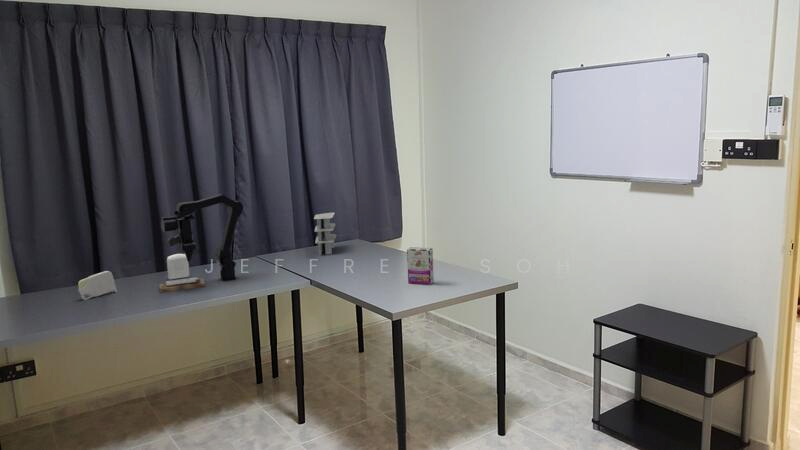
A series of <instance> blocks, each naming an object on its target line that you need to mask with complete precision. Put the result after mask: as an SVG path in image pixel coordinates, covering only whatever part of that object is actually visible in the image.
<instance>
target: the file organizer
mask: <svg viewBox="0 0 800 450" xmlns="http://www.w3.org/2000/svg"><path fill="white" fill-rule="evenodd" d="M335 213H336V212H325V213H319V214H318V213H316V214H315V215H314V217H313V220H316V225H315V228H314V233H316V232H317V236H316V238H315V242H314V244H317V245H318V246H317V247H318V256H322V254H323V253H325V255H326V254H331V255H332V254H333V253H332V252H333V251H332V250H333V249H335V240H336V237H337V234H336V233H331V231H334V229H335V228H336V223H334V222H331V220H330V219H333V218H334V216H335ZM332 248H333V249H332ZM322 252H323V253H322Z"/></svg>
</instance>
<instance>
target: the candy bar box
mask: <svg viewBox="0 0 800 450" xmlns="http://www.w3.org/2000/svg"><path fill="white" fill-rule="evenodd" d="M406 259H407V277H408V278H407V280H408V281H407V283H408V284H413V285H426V286H427V285H429V286H431V285H432V284H433V283H434V278H435V277H434V255H433V247H409V248H407V249H406Z"/></svg>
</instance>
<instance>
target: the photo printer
mask: <svg viewBox="0 0 800 450" xmlns="http://www.w3.org/2000/svg"><path fill="white" fill-rule="evenodd" d="M166 257H167V258H166V266H167V277H168V280H169V281H172V280H179V279H185V278H190V268H189V266H190V264H189V262H188V261H187V258H186V255H185V253H175V254H172V255H169V256H166Z"/></svg>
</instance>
